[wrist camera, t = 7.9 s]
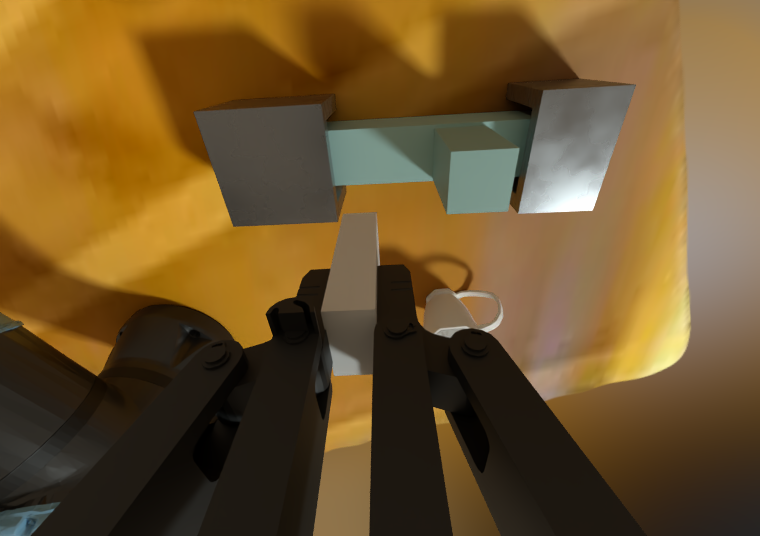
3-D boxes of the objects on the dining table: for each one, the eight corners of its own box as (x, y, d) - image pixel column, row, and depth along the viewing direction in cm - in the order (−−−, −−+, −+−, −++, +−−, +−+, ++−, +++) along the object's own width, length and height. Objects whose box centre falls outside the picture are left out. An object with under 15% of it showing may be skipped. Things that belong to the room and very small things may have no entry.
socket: (493, 184, 32) (518, 213, 26) (508, 83, 27) (543, 90, 21) (553, 181, 32) (592, 210, 26) (579, 78, 27) (636, 84, 21)
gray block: (260, 195, 33) (233, 226, 27) (234, 100, 28) (193, 111, 22) (346, 191, 32) (337, 221, 27) (334, 93, 28) (320, 103, 22)
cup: (405, 293, 40) (409, 340, 33) (480, 260, 37) (501, 305, 30) (428, 327, 43) (437, 377, 37) (499, 300, 40) (522, 348, 34)
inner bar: (306, 172, 31) (270, 225, 21) (297, 123, 29) (251, 158, 19) (519, 161, 31) (584, 211, 21) (529, 109, 28) (608, 138, 18)
